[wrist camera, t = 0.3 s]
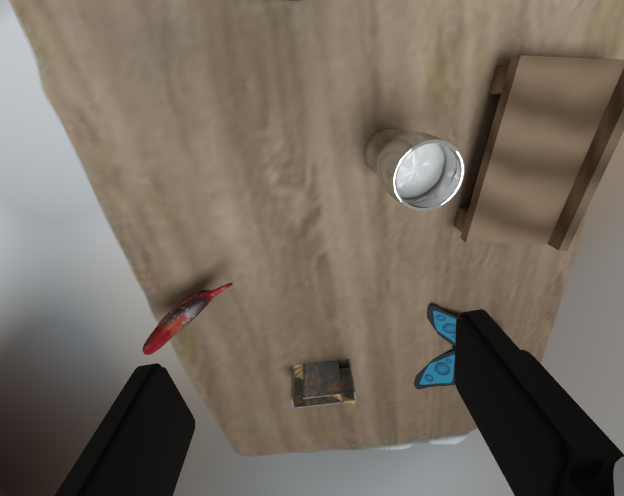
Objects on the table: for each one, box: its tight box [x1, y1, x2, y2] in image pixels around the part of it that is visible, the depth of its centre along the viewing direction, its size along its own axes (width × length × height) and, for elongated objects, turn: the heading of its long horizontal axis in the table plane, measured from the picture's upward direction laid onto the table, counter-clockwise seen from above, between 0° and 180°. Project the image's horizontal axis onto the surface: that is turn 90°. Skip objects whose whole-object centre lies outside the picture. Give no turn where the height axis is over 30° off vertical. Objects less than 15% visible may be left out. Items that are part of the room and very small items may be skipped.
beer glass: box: [365, 129, 465, 212], centre depth 33 cm, size 7×7×15 cm
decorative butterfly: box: [415, 306, 459, 389], centre depth 55 cm, size 20×14×3 cm
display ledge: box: [454, 55, 624, 251], centre depth 38 cm, size 22×13×7 cm, turn 178°
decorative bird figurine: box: [143, 283, 232, 355], centre depth 45 cm, size 3×18×10 cm, turn 126°
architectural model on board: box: [291, 359, 356, 409], centre depth 54 cm, size 11×3×10 cm, turn 97°
